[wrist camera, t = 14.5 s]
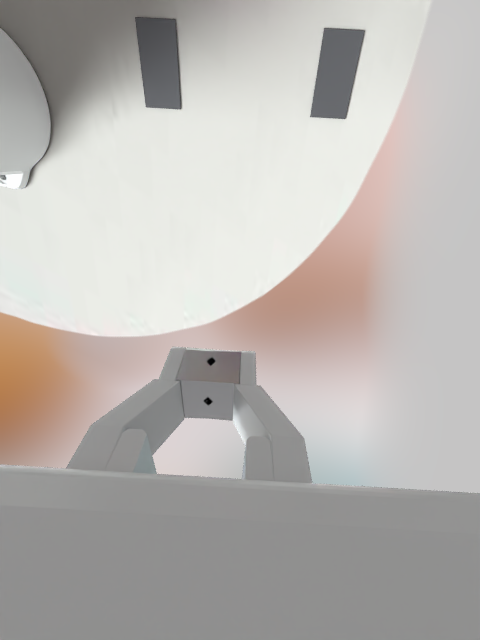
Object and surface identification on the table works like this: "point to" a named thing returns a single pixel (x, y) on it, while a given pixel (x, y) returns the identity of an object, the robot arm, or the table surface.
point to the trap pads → (164, 74)
